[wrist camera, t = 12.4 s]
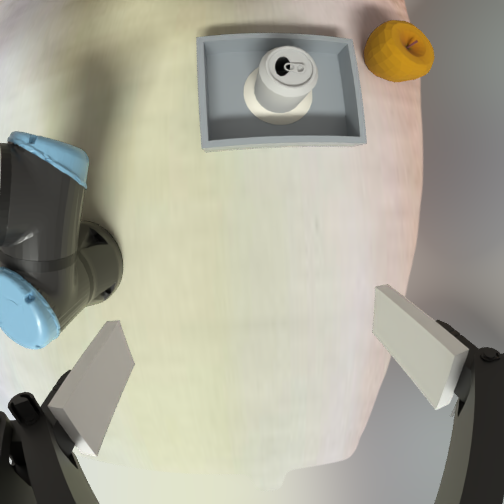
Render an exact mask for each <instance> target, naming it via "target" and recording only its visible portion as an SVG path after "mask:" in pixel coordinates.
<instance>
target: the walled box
mask: <svg viewBox="0 0 504 504" xmlns="http://www.w3.org/2000/svg"><path fill="white" fill-rule="evenodd" d="M283 46H294V47H297V48H300V49H302V50H304V51H305V52H307V53H308V54H309V55H310V56H311V57H312V59H313V60H314V62H315V64H316V67H317V69H318V80H317V83H316V85H315V87H314V88H313V89H312V90H311V91H310V92H309V93H308V95H307V96H306V97H305V98H304V99H303V100H302V101H301V102H300V103H299V104H298V106H297V107H296V108H294V109H293V110H291V111H289V112H285V113H274V112H271V111H268V110H266V109H265V108H263V107H262V106H261V105H260V104H259V102H258V101H257V100H256V97H255V94H254V86H255V82H256V77H257V73H258V68H259V64H260V62H261V60H262V57H263V56H264V55H265V54H266V53H267V52H268V51H270V50H272V49H274V48H278V47H283ZM197 71H198V95H199V114H200V131H201V146H202V149H203V150H204V151H205V152H215V151H226V150H238V149H253V148H272V147H307V146H332V147H353V146H358V145H363V144H367V141H366V129H365V119H364V110H363V102H362V94H361V87H360V80H359V74H358V67H357V62H356V56H355V51H354V46H353V41H352V39H346V38H338V37H330V36H321V35H309V34H292V33H243V34H226V35H214V36H204V37H197Z"/></svg>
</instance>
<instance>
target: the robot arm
mask: <svg viewBox="0 0 504 504" xmlns="http://www.w3.org/2000/svg"><path fill="white" fill-rule="evenodd" d="M7 141H8V143H0V327H1V329H2V330H3V331H4V333H5V334H6V335H7V336H8V337H9V338H11V339H12V340H13V341H14V342H16V343H17V344H19V345H21V346H23V347H25V348H29V349H41V348H43V347H45V346H46V345H48V344H49V343H50V342H51V341H52V340H54V339H56V338H57V337H58V336H59V334H60V333H61V332H62V331H63V329H64V328H65V327H66V326H67V325H68V324H69V323H70V322H71V321H72V320H73V319H74V318H75V317H76V316H77V315H78V314H79V313H80V312H81V311H82V310H83V309H84V308H85V307H87V306H91V305H95V304H99V303H101V302H103V301H105V300H106V299H108V298H109V297H110V296H111V295H112V294H113V293H114V292H115V291H116V289H117V288H118V286H119V284H120V282H121V278H122V273H123V262H122V257H121V253H120V250H119V248H118V245H117V243H116V242H115V240H114V239H113V237H112V236H111V235H110V234H109V233H108V232H107V231H106V230H105V229H104V228H103V227H101V226H99V225H98V224H95V223H93V222H89V221H80V220H81V213H82V206H83V199H84V193H85V190H86V189H87V184H86V180H87V173H88V167H89V158H88V156H87V154H86V153H85V151H83V150H82V149H80V148H78V147H75V146H72V145H70V144H67V143H64V142H60V141H57V140H54V139H50V138H46V137H42V136H36V135H32V134H29V133H25V132H18V131H15V132H12V133H11V134H10V137H9V138H8V140H7ZM372 333H373V334H374V335H375V336H376V337H377V338H378V340H379V341H380V342H381V343H382V344H383V346H384V347H385V348H386V349H387V350H388V352H389V353H390V354H391V355H392V356H393V358H394V359H395V360H396V361H397V363H398V364H399V365H400V366H401V367H402V369H403V370H404V371H405V372H406V373H407V375H408V376H409V377H410V378H411V380H412V381H413V382H414V383H415V385H416V386H417V387H418V388H419V390H420V391H421V392H422V394H423V395H424V396H425V397H426V399H427V400H428V401H429V402H430V404H431V405H432V406H433V408H434V409H435V410H437V409H439V408H441V407H443V406H445V405H447V404H449V403H450V401H451V399H452V396H453V394H454V393H455V394H456V395H457V396H458V397H459V398H458V400H457V402H456V405H455V407H454V409H453V412H452V414H451V416H453V415H454V413H455V417H454V424H453V430H452V437H451V441H450V447H449V452H448V456H447V461H446V465H445V469H444V473H443V477H442V480H441V484H440V488H439V491H438V494H437V497H436V500H435V503H434V504H502V503H503V497H504V353H503V354H500V353H499V352H498V351H497V350H495V349H493V348H488V347H484V348H480V349H478V348H477V347H476V346H475V345H473V344H472V343H471V342H470V341H468V340H467V339H466V338H465V337H464V336H462V335H460V333H459V332H457V331H456V330H454V329H453V328H452V327H451V326H450V325H448V324H447V323H444V322H442V321H440V320H437V321H435V320H433V319H432V318H431V317H429V316H428V315H427V314H426V313H424V312H423V311H422V310H421V309H419V308H418V307H417V306H416V305H414V304H413V303H412V302H410V301H409V300H408V299H406V298H405V297H404V296H403V295H401V294H400V293H399V292H397V291H396V290H395V289H394V288H392V287H391V286H390V285H388V284H386V285H382V286H377V287H375V304H374V318H373V330H372ZM134 365H135V363H134V360H133V358H132V355H131V352H130V350H129V347H128V344H127V341H126V338H125V335H124V333H123V330H122V327H121V324H120V320H119V321H107V322H106V323H105V324H104V326H103V327H102V328H101V330H100V331H99V332H98V334H97V335H96V337H95V338H94V339H93V341H92V342H91V343H90V345H89V346H88V347H87V349H86V350H85V352H84V353H83V354H82V356H81V357H80V359H79V360H78V361H77V363H76V364H75V366H74V367H73V369H72V370H68V371H67V372H66V373H65V374H63V375H62V376H61V377H60V379H59V380H58V382H57V383H56V385H55V386H54V387H53V390H51V392H50V393H49V395H48V396H47V398H46V399H45V401H44V402H43V404H42V405H41V407H40V406H39V404H38V403H37V401H36V399H35V398H34V396H33V394H31V393H29V392H23V393H19V394H17V395H15V396H14V397H13V398H12V399H11V400H10V402H9V403H8V409H9V410H10V412H11V413H12V415H13V416H14V417H15V419H16V420H9V419H8V417H7V416H6V414H5V413H4V412H2V411H0V504H99V502H98V500H97V498H96V497H95V495H94V493H93V491H92V489H91V487H90V485H89V484H88V481H87V479H86V477H85V475H84V473H83V471H82V469H81V467H80V464H79V462H78V460H77V457H76V456H75V454H74V453H73V452H72V450H73V448H74V446H76V447H77V448H78V450H79V451H80V452H81V453H82V454H85V455H91V456H96V457H97V455H98V453H99V450H100V447H101V445H102V442H103V439H104V437H105V434H106V432H107V429H108V427H109V424H110V421H111V419H112V417H113V414H114V412H115V409H116V407H117V404H118V402H119V399H120V397H121V395H122V392H123V390H124V388H125V385H126V383H127V381H128V378H129V376H130V374H131V372H132V369H133V367H134ZM9 457H10V458H11V460H12V464H10V463H9Z"/></svg>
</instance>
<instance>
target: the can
mask: <svg viewBox="0 0 504 504" xmlns="http://www.w3.org/2000/svg"><path fill="white" fill-rule="evenodd" d="M317 80H318V69H317V67H316V64H315V62H314V60H313V59H312V57H311V56H310V55H309V54H308V53H307V52H305V51H304V50H302V49H300V48H297V47H294V46H283V47H278V48H274V49H272V50H270V51H268V52H267V53H266V54H265V55H264V56H263V57H262V60H261V62H260V64H259V68H258V73H257V77H256V82H255V86H254V94H255V97H256V100H257V101H258V102H259V104H260V105H261V106H262V107H263V108H265V109H266V110H268V111H271V112H274V113H285V112H289V111H291V110H293V109H294V108H296V107H297V106H298V104H299V103H300V102H301V101H302V100H303V99H304V98H305V97H306V96H307V95H308V93H309V92H310V91H311V90H312V89H313V88H314V87H315V85H316V83H317Z"/></svg>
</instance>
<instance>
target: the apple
mask: <svg viewBox="0 0 504 504" xmlns="http://www.w3.org/2000/svg"><path fill="white" fill-rule="evenodd" d="M364 59H365V64H366V65H367V67H368V69H369V70H370V71H371V72H372V73H373V74H375V75H376V76H378V77H380V78H383V79H386V80H388V81H392V82H402V81H408V80H414V79H417V78H419V77H422V76H424V75H426V74H427V73H428V72H429V71H430V69H431V67H432V64H433V61H434V51H433V47H432V45H431V43H430V41H429V40H428V39H427V38H426V36H425V35H424V34H423V33H422V32H421V31H420V30H419V29H418V28H417V27H415V26H414V25H413V24H411V23H408V22H406V21H397V20H391V21H387V22H385V23H383V24H381V25H380V26H379V27H377V28H376V29H375V30H374V31H373V32H372V33H371V35H370V37H369V38H368V40H367V43H366V46H365V50H364Z"/></svg>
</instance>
